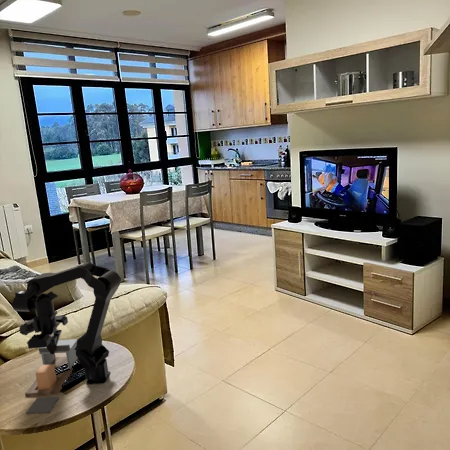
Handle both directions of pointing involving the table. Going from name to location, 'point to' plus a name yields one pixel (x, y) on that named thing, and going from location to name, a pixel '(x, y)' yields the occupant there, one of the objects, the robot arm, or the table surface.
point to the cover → (62, 347)
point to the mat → (42, 405)
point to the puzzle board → (61, 378)
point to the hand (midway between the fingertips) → (52, 353)
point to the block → (46, 377)
